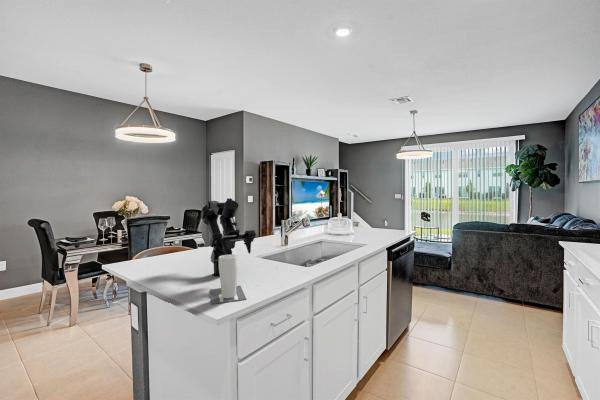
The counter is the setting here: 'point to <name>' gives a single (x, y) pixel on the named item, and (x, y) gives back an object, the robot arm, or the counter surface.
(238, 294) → the board
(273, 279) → the counter surface
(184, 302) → the counter surface
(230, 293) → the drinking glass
